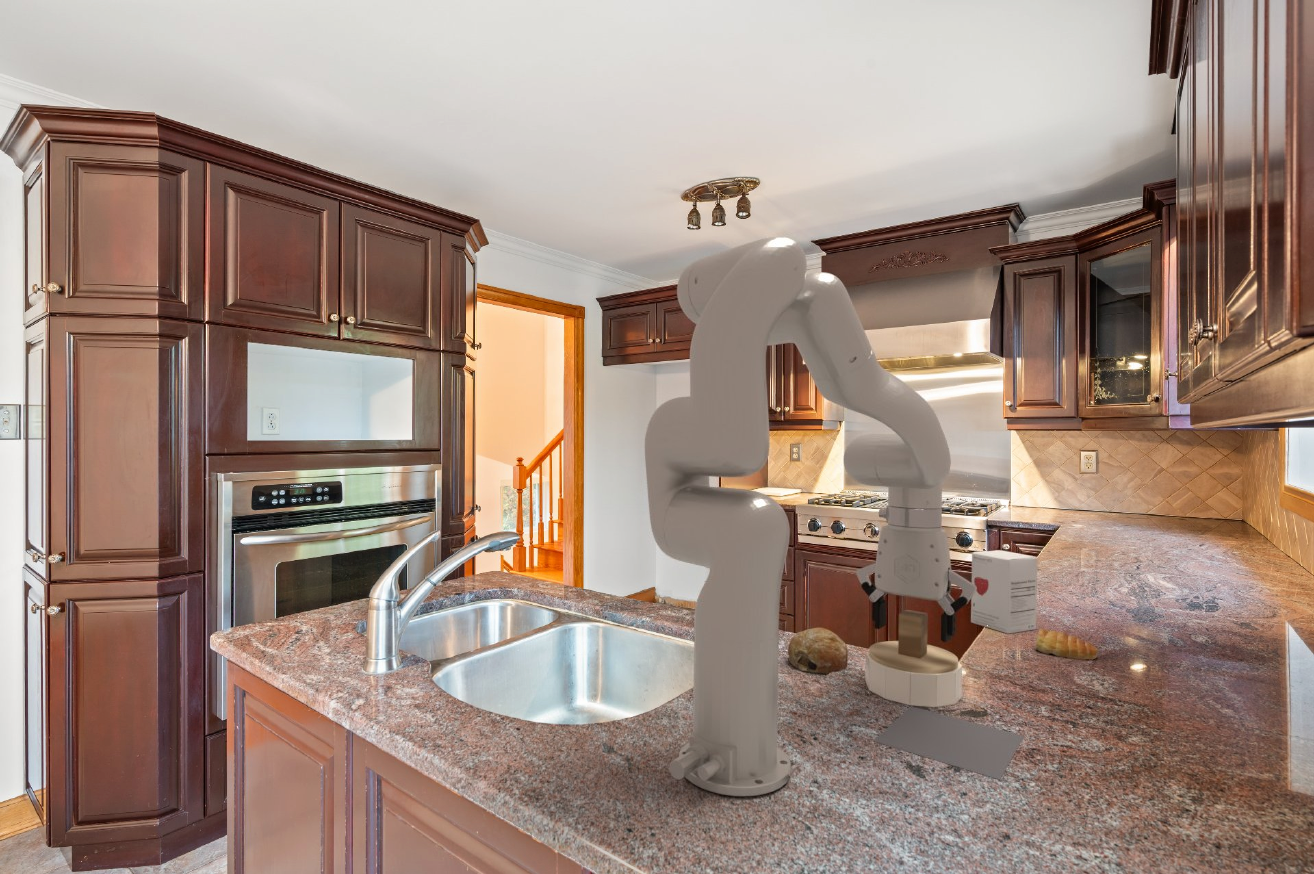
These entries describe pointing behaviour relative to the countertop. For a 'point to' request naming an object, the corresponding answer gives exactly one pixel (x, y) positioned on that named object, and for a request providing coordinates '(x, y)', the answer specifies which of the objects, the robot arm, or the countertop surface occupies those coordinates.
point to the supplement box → (1004, 591)
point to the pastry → (1064, 645)
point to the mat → (952, 741)
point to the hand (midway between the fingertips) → (912, 633)
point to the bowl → (914, 685)
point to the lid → (913, 648)
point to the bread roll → (818, 651)
